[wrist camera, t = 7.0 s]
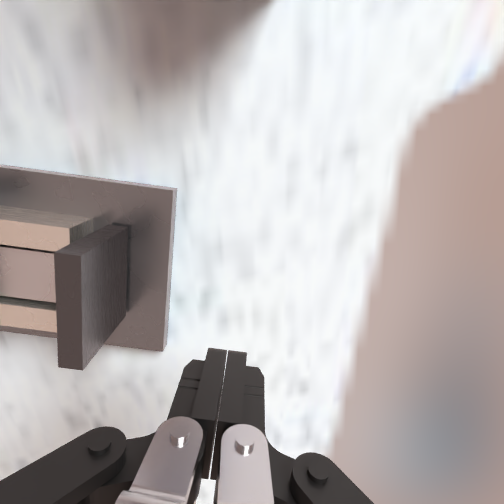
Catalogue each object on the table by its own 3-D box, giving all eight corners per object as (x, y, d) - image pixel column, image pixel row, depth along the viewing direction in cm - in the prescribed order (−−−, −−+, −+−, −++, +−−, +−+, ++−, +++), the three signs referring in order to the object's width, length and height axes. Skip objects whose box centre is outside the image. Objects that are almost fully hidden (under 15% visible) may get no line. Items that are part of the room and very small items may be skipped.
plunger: (-26, 206, 21) (-129, 228, 15) (128, 227, 21) (80, 255, 15) (-16, 297, 22) (-105, 346, 17) (125, 316, 23) (82, 370, 17)
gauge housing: (-51, 157, 21) (-196, 163, 14) (176, 188, 21) (138, 207, 15) (-31, 318, 24) (-142, 383, 18) (166, 343, 25) (131, 417, 18)
